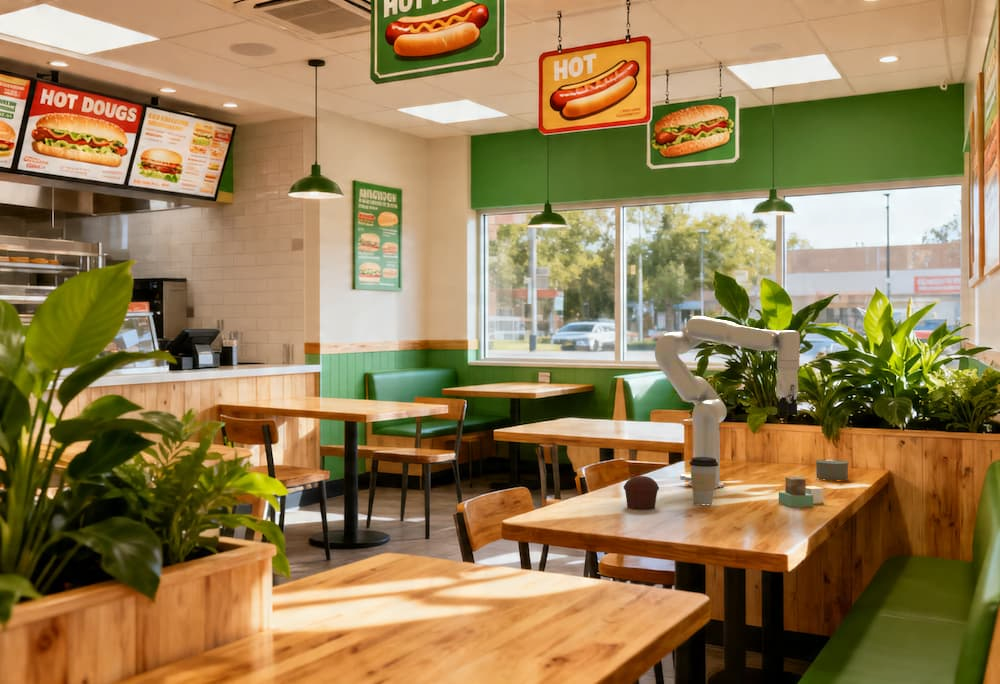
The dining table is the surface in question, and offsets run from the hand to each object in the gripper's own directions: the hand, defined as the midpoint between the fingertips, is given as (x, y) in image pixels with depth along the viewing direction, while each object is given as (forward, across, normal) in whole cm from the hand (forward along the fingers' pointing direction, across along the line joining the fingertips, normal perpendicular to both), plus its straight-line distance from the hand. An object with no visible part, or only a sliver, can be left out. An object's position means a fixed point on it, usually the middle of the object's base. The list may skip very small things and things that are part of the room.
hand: (787, 413), depth 333 cm
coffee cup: (+28, +21, -35) cm, 50 cm away
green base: (+29, +22, -4) cm, 36 cm away
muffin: (+29, +28, -57) cm, 70 cm away
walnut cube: (+25, +22, -4) cm, 33 cm away
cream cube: (+28, +17, +3) cm, 33 cm away
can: (+29, -33, +29) cm, 52 cm away
